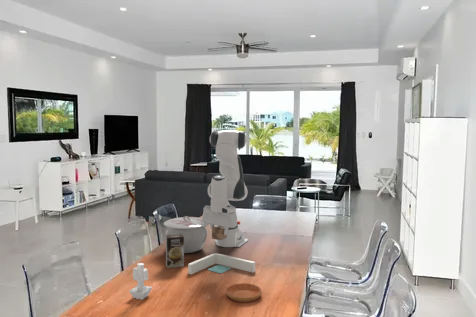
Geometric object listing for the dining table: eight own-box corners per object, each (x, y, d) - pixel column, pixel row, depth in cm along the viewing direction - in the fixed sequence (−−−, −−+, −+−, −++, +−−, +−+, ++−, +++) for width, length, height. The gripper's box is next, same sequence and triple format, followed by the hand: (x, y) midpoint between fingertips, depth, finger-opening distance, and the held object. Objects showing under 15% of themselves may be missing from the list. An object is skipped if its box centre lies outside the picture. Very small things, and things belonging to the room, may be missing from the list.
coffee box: (167, 268, 218) (166, 238, 217) (165, 264, 224) (165, 234, 223) (184, 266, 221) (184, 236, 219) (182, 262, 227) (182, 233, 225)
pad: (217, 265, 223) (217, 264, 223) (231, 268, 218) (231, 267, 218) (207, 269, 215) (207, 269, 215) (221, 273, 210) (221, 273, 210)
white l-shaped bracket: (215, 261, 228) (215, 252, 228) (255, 271, 213) (255, 262, 213) (188, 273, 210) (188, 263, 210) (229, 285, 195) (229, 274, 195)
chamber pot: (202, 258, 233) (202, 222, 231) (156, 255, 238) (155, 220, 237) (215, 244, 260) (215, 211, 258) (173, 241, 266) (173, 209, 264)
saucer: (241, 286, 195) (241, 280, 195) (269, 295, 185) (269, 288, 185) (218, 297, 183) (218, 290, 182) (246, 307, 172) (246, 300, 172)
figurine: (153, 293, 186) (153, 261, 184) (142, 302, 177) (141, 268, 175) (139, 291, 188) (139, 259, 187) (127, 300, 179) (126, 266, 178)
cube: (211, 238, 214) (211, 227, 214) (218, 236, 219) (218, 225, 218) (220, 240, 211) (220, 229, 211) (226, 237, 216) (226, 226, 215)
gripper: (199, 205, 217) (199, 231, 218) (231, 210, 205) (231, 238, 207) (207, 203, 222) (207, 229, 223) (238, 208, 210) (238, 235, 212)
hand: (219, 233), depth 215 cm, fingers closed on cube, 5 cm apart
